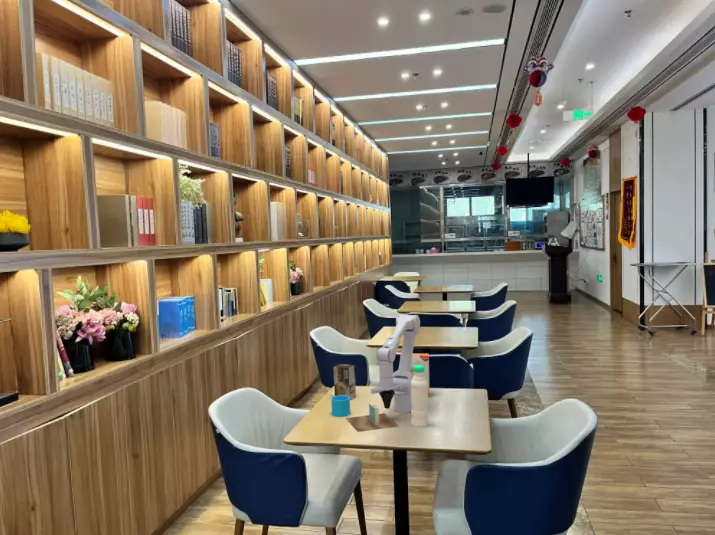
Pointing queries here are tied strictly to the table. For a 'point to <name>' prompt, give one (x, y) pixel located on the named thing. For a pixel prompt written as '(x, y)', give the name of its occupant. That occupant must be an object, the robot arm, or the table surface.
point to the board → (371, 423)
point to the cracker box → (420, 360)
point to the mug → (340, 406)
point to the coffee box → (344, 380)
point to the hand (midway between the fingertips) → (387, 408)
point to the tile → (373, 413)
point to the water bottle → (419, 397)
